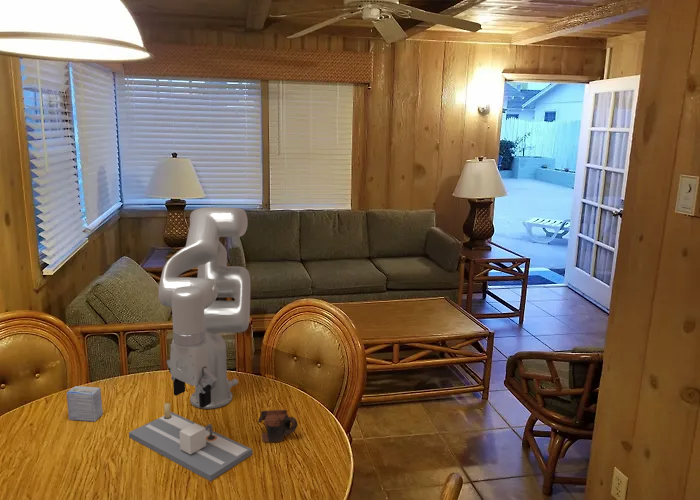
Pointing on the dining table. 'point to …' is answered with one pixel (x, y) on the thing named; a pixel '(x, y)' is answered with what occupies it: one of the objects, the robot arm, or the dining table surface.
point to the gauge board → (203, 462)
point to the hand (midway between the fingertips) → (192, 399)
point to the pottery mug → (277, 425)
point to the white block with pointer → (194, 438)
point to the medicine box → (84, 403)
